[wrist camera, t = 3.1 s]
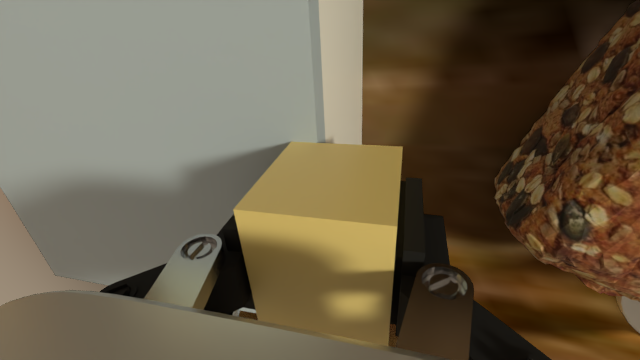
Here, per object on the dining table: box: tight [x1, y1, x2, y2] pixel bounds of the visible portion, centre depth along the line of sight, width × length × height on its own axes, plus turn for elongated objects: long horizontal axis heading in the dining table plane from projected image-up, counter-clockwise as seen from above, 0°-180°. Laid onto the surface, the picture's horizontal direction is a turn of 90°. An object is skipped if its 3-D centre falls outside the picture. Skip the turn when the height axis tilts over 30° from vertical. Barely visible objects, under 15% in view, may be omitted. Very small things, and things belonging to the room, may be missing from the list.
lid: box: [0, 0, 403, 346], centre depth 14 cm, size 21×15×7 cm
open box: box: [318, 0, 363, 145], centre depth 21 cm, size 18×15×11 cm
